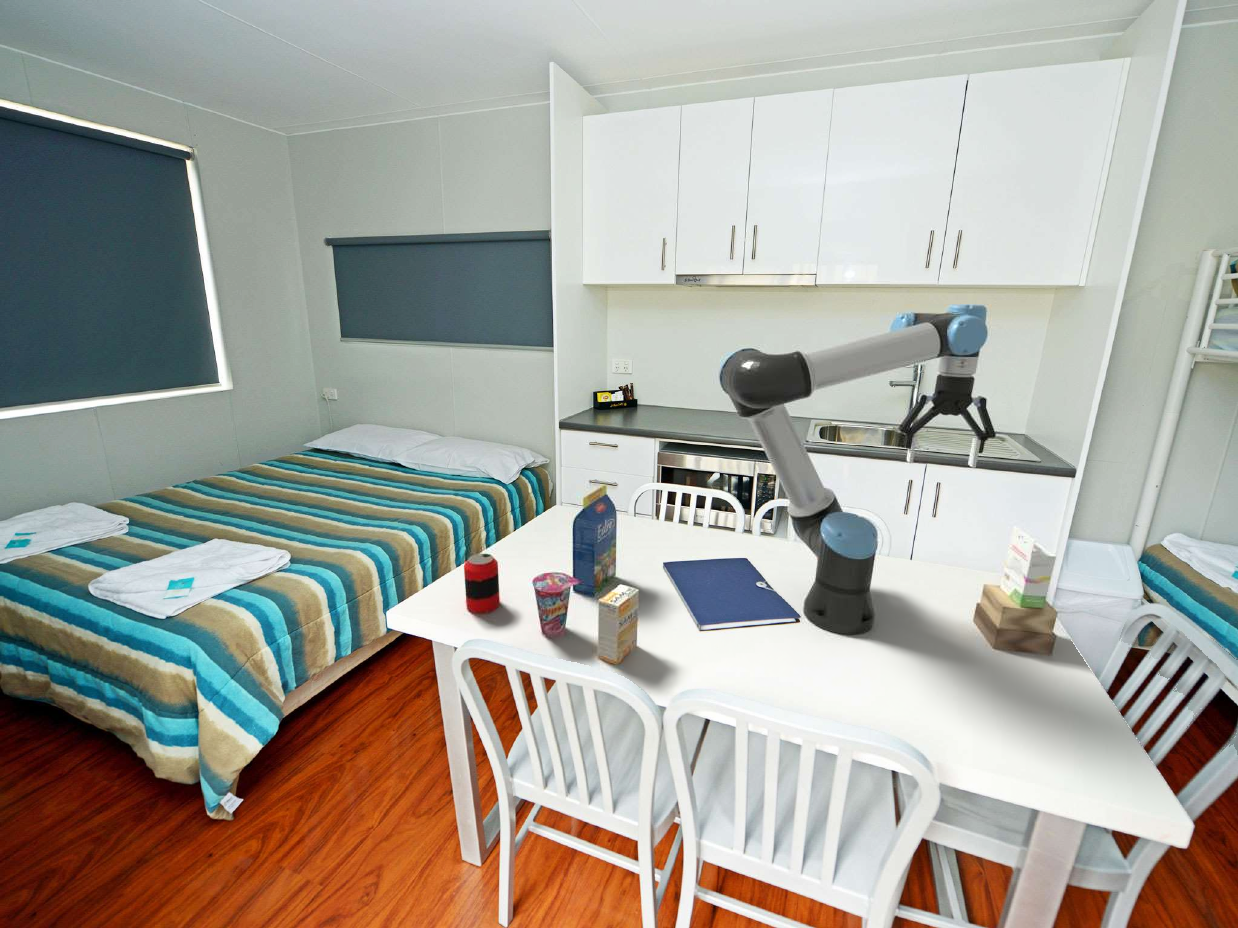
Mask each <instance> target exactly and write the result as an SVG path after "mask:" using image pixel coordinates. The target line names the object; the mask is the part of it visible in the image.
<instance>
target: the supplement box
mask: <svg viewBox="0 0 1238 928" xmlns="http://www.w3.org/2000/svg"><path fill="white" fill-rule="evenodd" d="M639 591H640V590H639V589H637V588H635V587H631V586H629V585H623V584H619V585H618V586H616V587H615V588H613V589H612V590H611V591H609V592H608V593H607V594H605V595H604V596H602V597H601V598H599V599H598V601H597V602H598V612H597V613H598V618H597V619H598V622H597V624H598V626H597V627H598V629H597V630H598V631H597V632H598V634H597V635H598V637H597V639H598V640H597V657H598V659H602V660H603V661H607V662H608V663H611V664H614V665H618V664H619V663H620V662H621V660H623V659H624V658H625V657H626V655H628V654H629V653H630V652H631V651H632V650H633V649H634V648H636V647H637V645H638V625H639V624H638V621H639V618H638V617H639V593H640V592H639Z"/></svg>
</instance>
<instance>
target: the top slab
mask: <svg viewBox="0 0 1238 928" xmlns="http://www.w3.org/2000/svg"><path fill="white" fill-rule="evenodd" d="M1000 586H1001V585H999V584H997V585H996V584H988V583H987V584H986V583H984V584H983V587H982V593H981V596H980V601H979V603H980V605H981V606H982V607H983V609H984V610H985V611H986V613H987V614H988V615H989V616H990V618H991V619H992V620H993V622H994V623H995V624H996V626H997V627H998V628H1003V629H1012V630H1021V631H1029V632H1038V633H1047V634H1052V633H1053V632H1054V628H1055V625H1056V621H1057V617H1058V611H1057V610H1056V609H1055V608H1054V607H1053V606H1052V605H1051V604H1050V603H1049V602H1048V601H1047V600H1045V604H1044V608H1032V607H1020V606H1018V605H1017V604H1016V603H1015V602H1014V601H1013V600H1012V599H1011V598H1010V597H1009V596H1008V595H1007V594H1006V593H1005V592H1004V591H1003V590H1002V589H1001V588H1000Z"/></svg>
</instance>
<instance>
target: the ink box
mask: <svg viewBox="0 0 1238 928" xmlns="http://www.w3.org/2000/svg"><path fill="white" fill-rule="evenodd" d="M1020 537H1021V538H1023V539H1020ZM1056 561H1057V555H1055V554H1053V553H1052V552H1050V551H1049V550H1047V549H1046V548H1045V547H1043V545H1041V544H1039V543H1038V542H1036V540H1035V539H1034V538H1032V537H1031V536H1030V535H1029V534H1027V533H1025V532H1024V531H1022V530H1021V529H1020V528H1018V527H1017V526H1014V527H1013V530H1012V535H1011V539H1010V541H1009V547H1008V551H1007V555H1006V560H1005V565H1004V568H1003V574H1002V576H1001V577H1002V579H1001V582H1000V585H999V586H1000V588H1001V589H1002V590H1003V591H1004V592H1005V593H1006V594H1007V595H1008V596H1009V597H1010V598H1011V599H1012V600H1013V601H1014V602H1015V603H1016V604H1017V605H1018V606H1020V607H1032V608H1044V604H1045V600H1046V599H1047V595H1048V592H1049V586H1050V584H1051V583H1050V582H1051V579H1052V574H1053V570H1054V566H1055V563H1056ZM1046 601H1047V600H1046Z"/></svg>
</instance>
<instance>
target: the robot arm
mask: <svg viewBox="0 0 1238 928" xmlns="http://www.w3.org/2000/svg"><path fill="white" fill-rule="evenodd" d="M986 320H987V307H986V306H985V305H983V304H950V305H949V307H948V309H947V311H946V312H945V313H934V312H933V313H931V312H930V313H929V312H928V313H927V312H913V311H912V312H902V313H899V314H898V315H896V316H895V317H894V318H893V320H892V323H891V324H890V330H889V332H888V331H887V332H884V333H882V334H876V335H873V336H869V337H866V338H865V337H864V338H862V339H859V340H855V341H851V342H848V343H843V344H839V345H836V346H835V345H834V346H832V347H828V348H824V349H820V350H817V351H812V352H809V353H804V352H802V351H801V350H797V351H794V352H789V353H782V354H781V353H779V354H773V353H772V354H769V353H767V352H766V353H765V352H762V351H761V350H758V349H756V348H750V347H748V348H740V349H737V350H734V351H733V352H731V353H729V354H728V355H727V356H726V357H725V358H724V359H723V361H722V362H721V364H720V367H719V370H718V380H719V384H720V387H721V389H722V390H723V392H725V394H727V395H728V397H729V398H730V399H729V400H731V403H732V404H733V406H734V408H735V410H736V412H737V414H738V416H739V417H740V418H741V419H744V420H748V421H749V422H750V425H751V427H752V429H753V431H754V434H755V435H756V437H757V439H758V441H759V443H760V445H761V447H762V449H763V450H764V453H765V455H766V457H767V459H768V461H769V462H770V464H771V466H772V468H773V471H774V474H776V477H777V479H778V481H779V482H780V485H781V487H782V488H783V491H784V493H785V494H786V498H788V501H789V503H788V506H787V513H788V515H789V517H790V518H791V525H792V528H793V531H794V533H795V535H796V536H797V537H798V538H799V539H800V540H801V541H802V542H803V543H804V544H805V545H806V547H808V548H809V550H810V551H811V552H812V553H813V554H814V556H815V557H816V558H817V559H816V560H817V562H816V570H815V578H814V582H813V584H812V586H811V588H810V589H809V591H808V592H807V595H806V597H805V599H804V601H803V615H804V616H805V618H806V619H807V620H808V621H809V622H811V623H812V624H813V625H815V626H817V627H819V628H821V629H823V630H826V631H829V632H832V633H837V634H841V635H858V634H859V635H860V634H864V633H866V632H869V631H870V630H872V628H873V627H874V623H875V610H874V609H875V608H874V605H873V601H872V595H871V591H870V590H871V584H872V578H873V573H874V566H875V561H876V552H877V550H878V546H879V545H878V538H879V537H878V536H879V535H878V534H879V533H878V529H877V526H875V525H874V523H872V522H871V520H869V519H867V518H866V517H863V516H859V515H858V514H855V513H852V512H846V511H843V509H842V507H841V505H840V503H839V500H838V498H837V496H836V495H835V492H834V490H832V489H830V488H827V487H824V484H823V482H822V480H821V478H820V476H819V474H818V472H817V470H816V467H815V466H814V464H813V462H812V460H811V458H810V457H811V456H809V453H808V451H807V449H806V447H805V445H804V442H803V441H802V439H801V436H800V434H799V432H798V430H797V428H796V426H795V424H794V422H793V420H792V418H791V415H790V414H789V412H788V409H787V407H786V405H785V404H788V403H793V402H795V401H798V400H803V399H807V398H810V397H811V396H812V394H813V393H814V392H815V391H817V390H821V389H825V388H829V387H832V386H836V385H840V384H843V383H847V382H851V381H855V380H859V379H862V378H866V377H870V376H874V375H878V374H881V373H885V372H888V371H893V370H896V369H900V368H904V367H909V366H911V365H915V364H919V363H922V362H926V361H930V360H935V359H939V364H938V368H937V371H938V373H939V374H937V376H936V381H935V387H934V393H933V394H932V395H930V394H929V395H927V394H924V393H922V392H921V393H919V394H918V396H917V401H916V403H915V404H914V405H913V407H912V408H911V410H910V411H909V413H908V414H907V415H906V417H905V418H904V419H903V420H902V422H901V423H900V425H899V426H898V431H899V432H900V433H902V434H905V438H904V448H905V449H907V454H906V461H907V463H909V464H913V463H914V458H915V457H914V455H915V451H916V444H917V439H918V437H917V435H915V434H917V433H918V432H919V431H920V430H921V429H922V428H924V427H925V426H926V425H927V424H928V423H929V422H930V421H932V420H933V419H934V418H935V417H938V416H939V415H940V414H941V415H942V416H954V417H956V416H957V417H959V416H961V417H963V419H964V421H965V422H966V423H967V425H968V427H970V429H971V430H972V432H973V433H974V434H975V436H976V437H973V438H972V440H971V446H970V452H969V457H968V462H967V465H968V466H970V467H971V468H973V469H974V468H975V469H976V467H977V462H978V458H979V457H978V456H979V454H982V453H983V452H984V449H985V443H986V442H987V441H988V439H994V438H996V436H997V435H996V430H995V429H994V425H993V422H992V420H991V417H990V415H989V411H988V409H987V408H988V407H987V401H988V400H987V398H986V397H984V396H981V395H979V396H977V397H973V395H972V394H973V390H974V385H975V380H976V379H975V376H974V375H976V373H977V369H978V363H979V358H980V357H979V356H980V350H981V349H982V348H983V346H984V345H985V344H986V342H987V339H988V335H989V333H988V327H987V324H986ZM930 402H931V403H932V406H931V407H930V408H929V409H928V411H927V412H925V413H924V414H923V415H922V416H921V417H920V418H919V419H918V420H916V421H915V419H917V418H918V416H919V415H920V413H921V412H922V410H923V409H924V407H925V406H926V405H928V403H930ZM972 404H973V405H974V406H975V407H976V410H977V412H978V415H979V418H980V422H981V423H982V427H983V429H984V431H985V432H984V431H983V430H982V428H981V427H980V426H979V424H978V423H977V422H976V420H975V419H974V417H973V416H972V414H971V413H970V411H969V410H968V408H969V406H971V405H972ZM914 421H915V422H914Z"/></svg>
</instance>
